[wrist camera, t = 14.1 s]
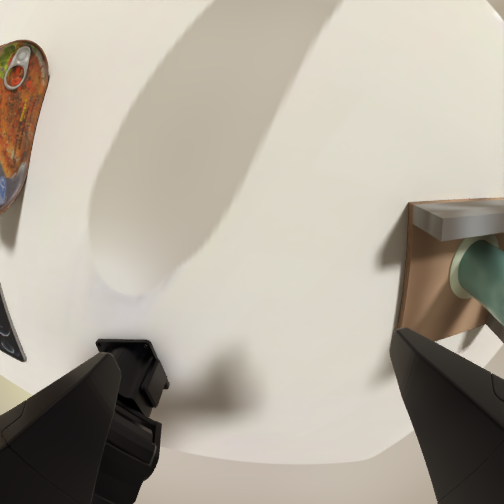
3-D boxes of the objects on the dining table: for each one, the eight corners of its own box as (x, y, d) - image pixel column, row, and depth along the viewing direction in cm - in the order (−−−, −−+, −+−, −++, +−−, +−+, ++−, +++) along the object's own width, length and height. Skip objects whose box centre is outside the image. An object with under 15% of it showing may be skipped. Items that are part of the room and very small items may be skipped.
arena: (393, 346, 24) (411, 379, 19) (408, 202, 19) (442, 218, 14) (489, 317, 23) (511, 339, 18) (512, 197, 18) (544, 209, 13)
